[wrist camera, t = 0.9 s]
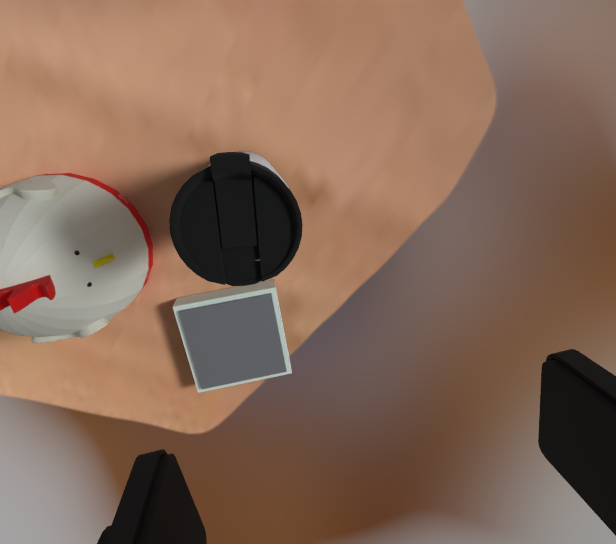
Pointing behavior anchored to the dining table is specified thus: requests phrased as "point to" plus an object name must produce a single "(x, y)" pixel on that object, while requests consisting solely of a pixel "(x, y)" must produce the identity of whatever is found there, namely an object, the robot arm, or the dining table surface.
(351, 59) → the dining table surface
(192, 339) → the stand
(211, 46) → the dining table surface
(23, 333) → the kitchen timer
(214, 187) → the travel mug
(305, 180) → the dining table surface
